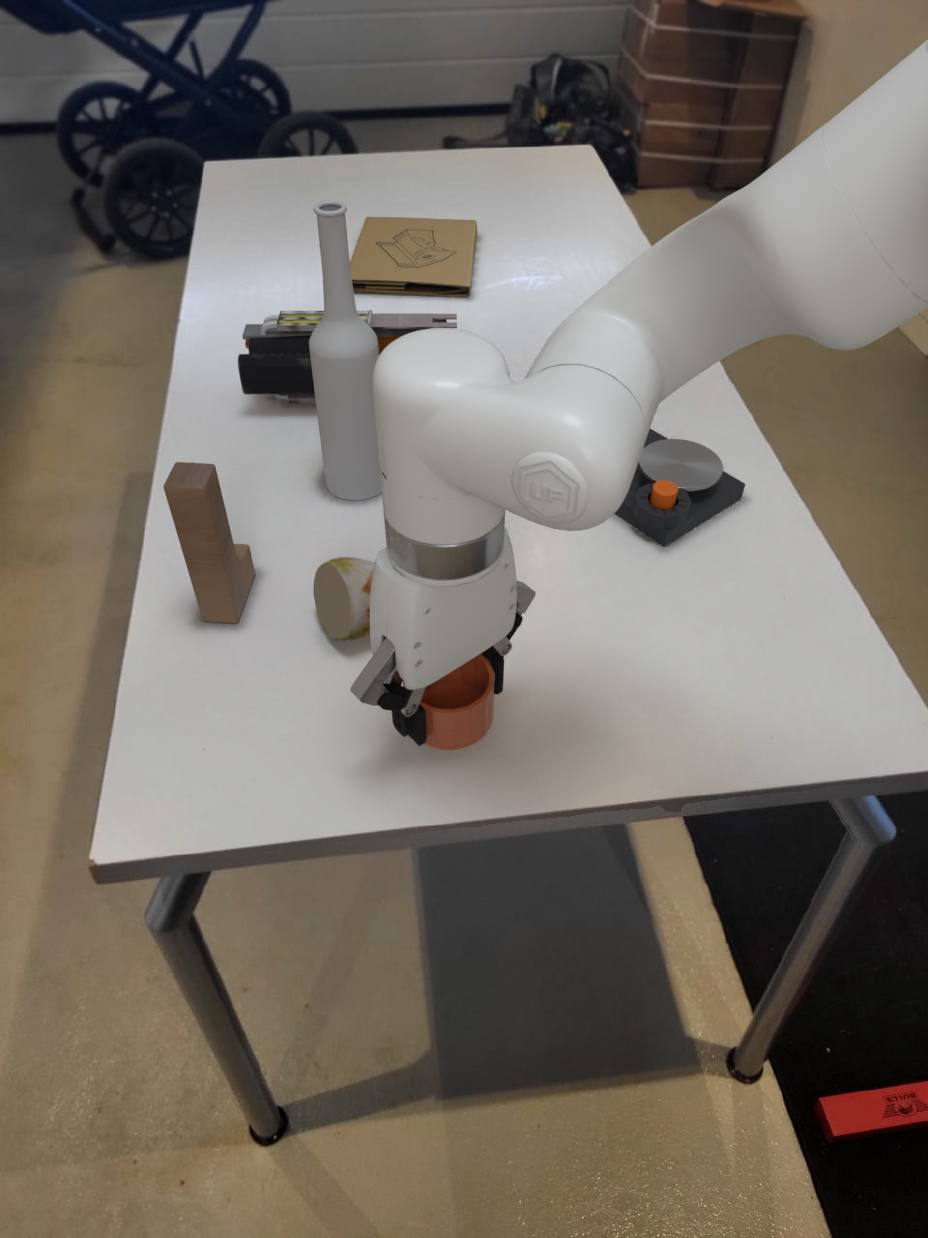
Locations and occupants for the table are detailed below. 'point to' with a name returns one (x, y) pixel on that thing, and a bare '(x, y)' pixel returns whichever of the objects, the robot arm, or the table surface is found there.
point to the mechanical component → (286, 355)
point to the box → (414, 256)
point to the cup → (460, 705)
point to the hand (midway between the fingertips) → (449, 706)
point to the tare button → (664, 494)
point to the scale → (687, 507)
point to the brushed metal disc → (681, 464)
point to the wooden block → (209, 542)
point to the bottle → (344, 369)
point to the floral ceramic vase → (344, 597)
